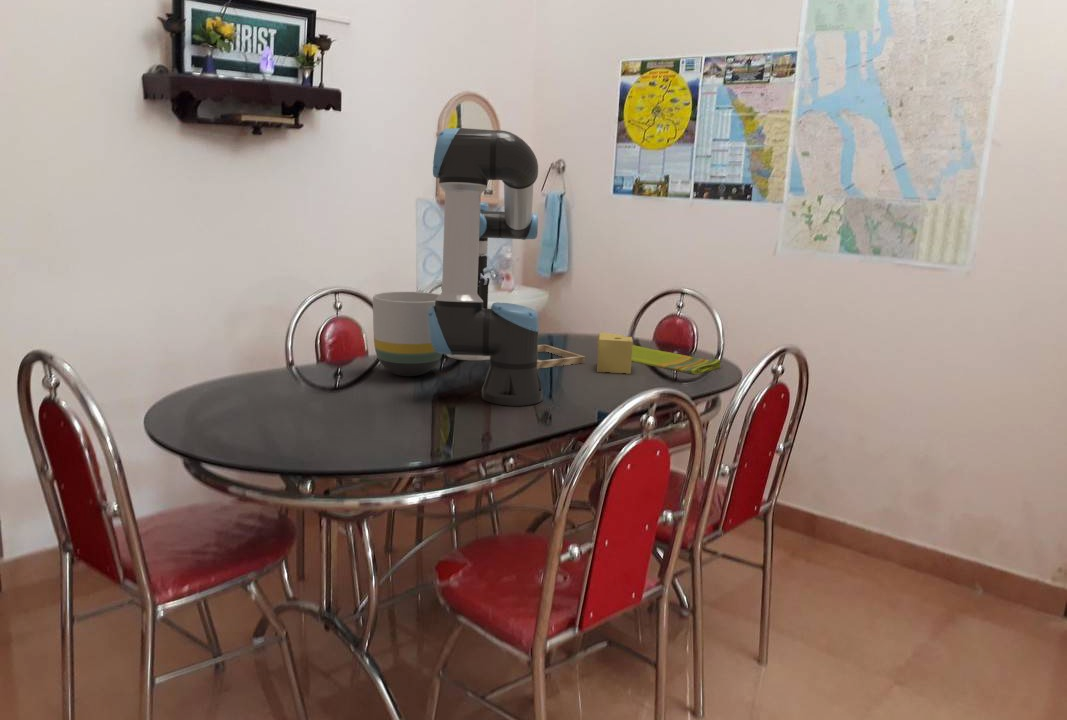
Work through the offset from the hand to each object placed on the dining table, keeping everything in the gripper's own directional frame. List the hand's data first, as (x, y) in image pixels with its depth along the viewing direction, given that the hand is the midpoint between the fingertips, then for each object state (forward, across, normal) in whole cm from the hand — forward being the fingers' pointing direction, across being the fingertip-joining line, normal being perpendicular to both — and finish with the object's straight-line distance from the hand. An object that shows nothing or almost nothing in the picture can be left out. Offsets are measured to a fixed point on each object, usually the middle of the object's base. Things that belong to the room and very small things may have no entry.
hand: (472, 331), depth 255 cm
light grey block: (+8, -19, -10) cm, 23 cm away
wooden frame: (+7, -14, -16) cm, 23 cm away
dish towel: (+8, -32, -48) cm, 58 cm away
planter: (+7, -14, +29) cm, 33 cm away
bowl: (+7, 0, 0) cm, 7 cm away
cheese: (+8, -35, -27) cm, 45 cm away
